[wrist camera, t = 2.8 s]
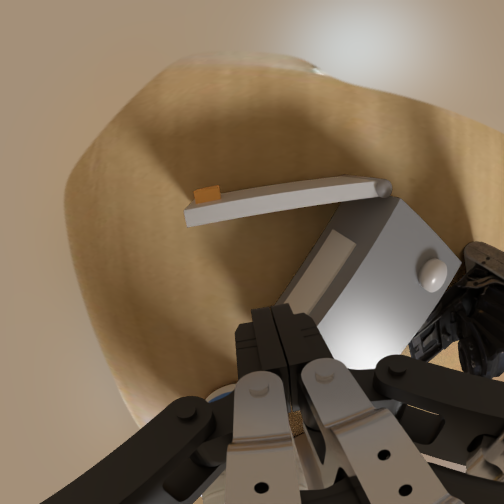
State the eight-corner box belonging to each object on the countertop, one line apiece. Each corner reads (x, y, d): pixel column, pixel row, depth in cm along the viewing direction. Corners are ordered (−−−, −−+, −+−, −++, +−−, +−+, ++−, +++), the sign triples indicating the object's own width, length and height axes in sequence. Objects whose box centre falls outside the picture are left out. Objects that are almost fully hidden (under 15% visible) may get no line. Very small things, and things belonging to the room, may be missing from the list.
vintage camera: (385, 304, 27) (496, 440, 8) (474, 234, 25) (594, 304, 6) (400, 354, 30) (477, 467, 11) (479, 290, 28) (569, 364, 9)
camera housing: (323, 362, 28) (349, 417, 20) (251, 334, 25) (263, 397, 17) (411, 238, 24) (467, 266, 16) (348, 185, 22) (406, 198, 14)
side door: (197, 211, 21) (187, 230, 15) (193, 188, 21) (180, 196, 14) (351, 187, 22) (392, 197, 16) (348, 165, 21) (390, 167, 15)
